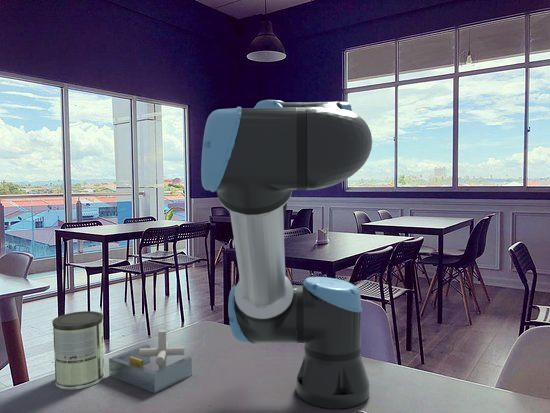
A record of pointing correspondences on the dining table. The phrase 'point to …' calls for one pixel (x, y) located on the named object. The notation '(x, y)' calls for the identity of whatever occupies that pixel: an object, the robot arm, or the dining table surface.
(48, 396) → the dining table surface
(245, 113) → the robot arm
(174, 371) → the jig
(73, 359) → the coffee can
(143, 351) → the pipe connector
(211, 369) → the dining table surface
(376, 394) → the dining table surface
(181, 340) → the dining table surface
